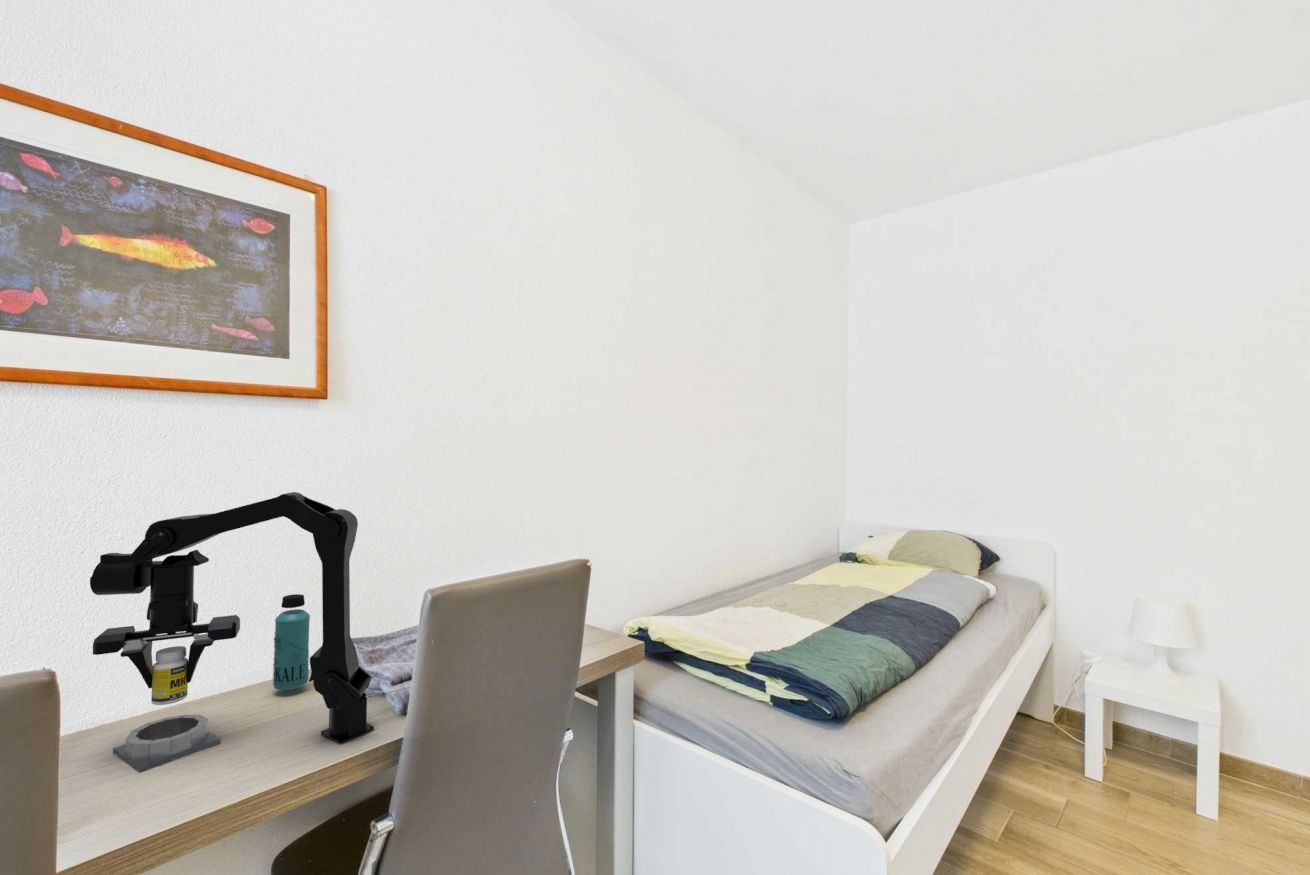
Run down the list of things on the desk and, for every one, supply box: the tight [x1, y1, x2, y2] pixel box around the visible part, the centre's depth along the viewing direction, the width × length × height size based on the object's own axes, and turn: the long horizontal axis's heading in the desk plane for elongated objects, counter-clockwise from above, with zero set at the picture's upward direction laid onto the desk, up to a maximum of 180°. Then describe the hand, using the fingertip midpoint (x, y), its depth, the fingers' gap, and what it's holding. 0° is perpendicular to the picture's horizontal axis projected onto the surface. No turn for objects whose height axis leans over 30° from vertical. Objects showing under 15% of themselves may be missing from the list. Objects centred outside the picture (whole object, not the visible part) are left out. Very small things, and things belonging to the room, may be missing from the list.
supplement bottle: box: [150, 645, 189, 706], centre depth 100 cm, size 5×5×8 cm
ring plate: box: [112, 714, 221, 773], centre depth 100 cm, size 11×11×3 cm
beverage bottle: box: [272, 593, 311, 691], centre depth 124 cm, size 6×7×20 cm
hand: (170, 684), depth 101 cm, fingers closed on supplement bottle, 5 cm apart
